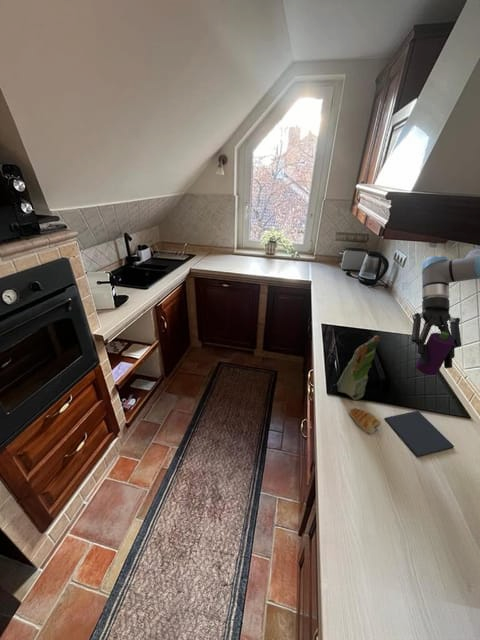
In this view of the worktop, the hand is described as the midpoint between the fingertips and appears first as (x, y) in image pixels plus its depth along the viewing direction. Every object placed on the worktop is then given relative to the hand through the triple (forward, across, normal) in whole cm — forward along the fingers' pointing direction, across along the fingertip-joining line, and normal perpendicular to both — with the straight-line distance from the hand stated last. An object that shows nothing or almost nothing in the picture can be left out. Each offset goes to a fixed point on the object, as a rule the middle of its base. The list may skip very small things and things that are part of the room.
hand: (435, 365), depth 83 cm
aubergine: (+1, 0, -6) cm, 6 cm away
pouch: (+12, +22, -16) cm, 30 cm away
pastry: (+22, +19, -6) cm, 30 cm away
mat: (+22, +2, -6) cm, 23 cm away
